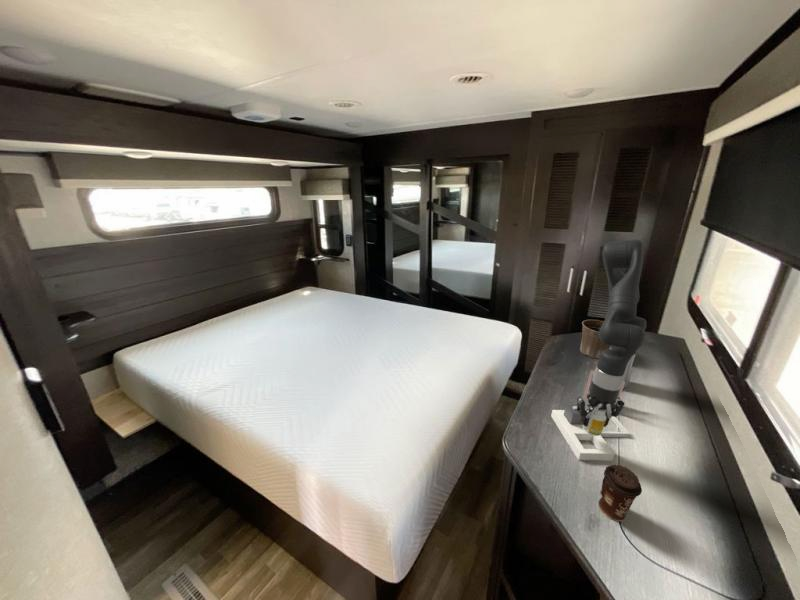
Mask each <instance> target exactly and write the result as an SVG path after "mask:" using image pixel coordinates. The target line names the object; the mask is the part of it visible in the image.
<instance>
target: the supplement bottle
mask: <svg viewBox="0 0 800 600" xmlns="http://www.w3.org/2000/svg"><path fill="white" fill-rule="evenodd" d="M591 408H592V407H591ZM592 409H593V408H592ZM588 411H589V410H588ZM588 411H587V413H588ZM605 413H606V410H599V409H598V410H597V411H596V412H595V413H594V414H592V415H591V416H590V417H589V418H590V419H589V423H588V426H584V425H583V429H584V430H585V431H586V432H587V433H588V434H590V435H593V436H599V435H601V433H602V432H603V431H604V430H603V429H604V428H605V427H604V424H605V421H606V414H605Z"/></svg>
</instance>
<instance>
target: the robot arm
mask: <svg viewBox="0 0 800 600" xmlns="http://www.w3.org/2000/svg"><path fill="white" fill-rule="evenodd" d="M644 251H645V250H644V245H643V242H642V241H641V240H640V239H629V240H617V241H610V242H607V243H606V244H604V245H603V248H602V252H601V253H602V260H603V261H602V262H603V266H604V270H605V273H606V278H607V283H608V284H607V285H608V294H609V295H608V305H607V312H606V317H605V318H604V320H603V324H602V326H601V328H600V330H599V338H600V340H601V341H602V342H603V343H604V344H607V345H611V346H610V348H609V349H606V350H603V351H602V352H601V353H600V356H599V359H598V360H597V364H596V366H595V368H594V370H595V371H594V374H593V378H592V381H591V385H590V388H589V395H588V396H587V398H583V397H582V396H577V398H576V404H577V411H578V412H579V414H580V415H581V416H582V418H581V422H582V424H583V425H584V426H588V423H589V419H590V418H589V417H590V416H591V415H592V414H594V413H595V412H596V411H597V410H598V409H599V410H606V413H605V414H606V421H605V424H604V427H603V428H605V427H607V426H608V425H609V422H610V420H611V417H612V416H614V417H616V418H617V417H618V416H619V415H620V413H621V411H622V409H623V408H624V406H625V402H624V401H623V400H622V399H621V397H620V398H619V397H618V394H619V391H620V388H621V385H622V382H623V381H624V382H625V384H624V387H623V389H624V388H628V385H629V382H630V381H631V377H632V373H633V371H634V368H633V367H632V366H633V363H634V361H635V357H636V355H637V351H638V350H639V349H640V348H641V346H642V344H643V343H644V341H645V331H646V329H647V320H646V319H645V318H642V317H640V316H637V305H638V303H639V301H640V286H639V285H640V279H641V275H642V271H643V264H644V254H645V253H644ZM621 269H628V271H627V272H626V273H624V272H623V270H621ZM591 407H592V408H593V409H592V408H591ZM615 409H616V410H615ZM588 410H589V411H588ZM614 410H615V411H614ZM587 411H588V413H587Z"/></svg>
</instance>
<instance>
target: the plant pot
mask: <svg viewBox="0 0 800 600" xmlns="http://www.w3.org/2000/svg"><path fill="white" fill-rule="evenodd" d="M603 322H604V320H599V319H586V320H583V321H582V322H581V324H582V328H581V331H582V332H581V334H582V335H581V339H580V340H581V341H580V347H579V351H580V353H581V354H582V355H585V356H588V357H589V358H591V359H595V360H597V359H598V360H599V356H600V353H601V352H602V351H603V350H606V349H610V346H611V345H607V344H604V343H603V342H602V341H601V340H600V338H599V330H600V328H601V326H602V324H603Z"/></svg>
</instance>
